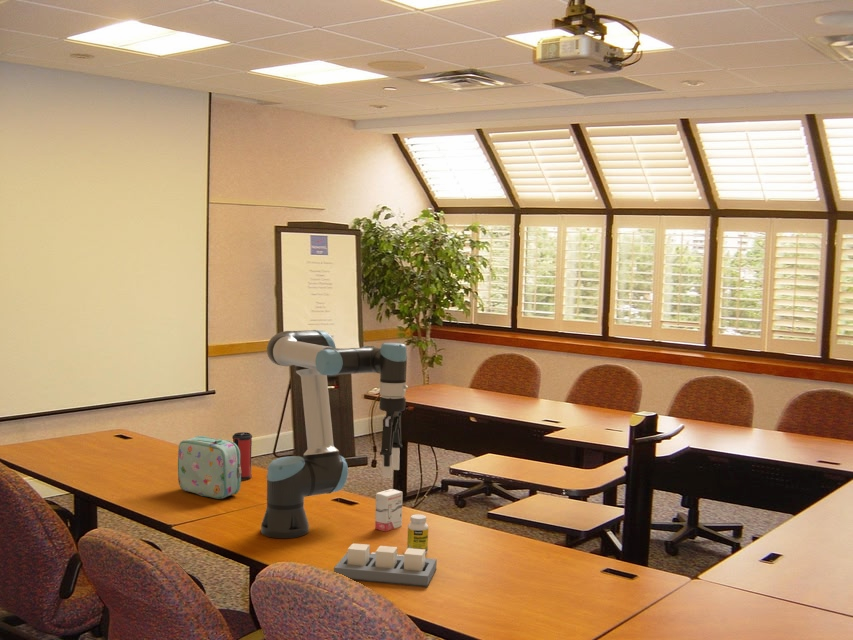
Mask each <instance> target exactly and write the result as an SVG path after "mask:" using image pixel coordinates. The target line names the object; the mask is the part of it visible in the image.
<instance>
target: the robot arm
mask: <svg viewBox="0 0 853 640" xmlns="http://www.w3.org/2000/svg"><path fill="white" fill-rule="evenodd" d="M266 354H267V357H268V359H269V361H271V362H272V363H274V364H275V365H277V366H280V367H281V366H282V367H295V373H296V374H297V375H299V376H300V381H301V392H302V402H303V413H304V422H305V423H304V424H305V426H304V427H305V435H306V444H307V445H306V446H307V449H306V450H305V452H304V453H303V456H300V455H292V456H289V455H288V456H282V457H279V458H275V459H273V460H272V461H271V462H270V463H269V464H268V466H267V474H266V486H267V487H266V510H265V512H264V516H263V518H262V521H261V523H260V524H261V526H260V534H261V535H263V536H264V537H268V538H273V539H294V538H300V537H303V536H305V535H307V534H308V533H309V530H310V529H309V528H310V525H309V521H308V517H307V514H306V511H305V503H304V501H305V497H312V496H318V495H319V496H320V495H326V494H332V493H336V492H339V491H342V490H343V488H344V487H345V485H346V483H347V480H348V476H349V468H348V462H347V461H346V459H345V457H344V456H342V455H340V450H339V449H338V448H337V447H335V445H334V437H333V436H334V435H333V425H332V416H331V406H330V405H331V404H330V394H329V383H328V376H331V377H332V376H339V375H350V374H351V375H352V374H354V375H355V374H356V375H357V374H369V373H370V374H371V373H373V374H375V373H376V374H379V375H380V376H379V378H380V380H379V395H380V397H379V410H381V411H382V412H384V411H385V413H386V414H385V416H384V418H383V419H382V435H381V445H380V446H381V447H380V451H379V455H380V456H382V469H381V471H382V472H381V473H382V475H381V477H382V478H389V479H390V478H391V479H392V478H393V470H394V471H399V470H400V456H401V455H400V454H401V453H400V448H403V445H404V444H403V443H402V412H403V411H405V410H406V401H407V400H406V397H405V396H406V393H407V391H406V390H407V389H408V385H406V383H407V382H406V381H407V362H408V355H407V354H408V353H407V345H406V344H404V343H401V342H384V343H382V344H381V346H380V347H376V346H373V345H368V346H367V345H366V346H365V345H364V346H362V347H350V348H337V347H336V344H335V341H334V338H333V336H332V335H330V334H329V332H327V331H326V330H318V329H317V330H316V329H311V330H308V329H307V330H284V331H281V332H278V333H276V334H275V335H273V336H272V337H271V338H270V339H269V340H268V343H267V345H266Z"/></svg>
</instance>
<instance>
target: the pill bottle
mask: <svg viewBox="0 0 853 640" xmlns="http://www.w3.org/2000/svg"><path fill="white" fill-rule="evenodd" d="M406 543H407V544H406V545H407V546H406V550H407V549H408V548H413V549H425V555H426V554H428V550H429V525H428V523H427V516H426V515H424V514H412V515H410V523H409V524H408V525H407V542H406Z"/></svg>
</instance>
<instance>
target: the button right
mask: <svg viewBox="0 0 853 640" xmlns="http://www.w3.org/2000/svg"><path fill="white" fill-rule="evenodd" d="M403 555H404V569H405V570H416V571H422V570H423V568H424V566H425V558H426V554H425V549H413V548H408V549H407V548H406V550H405V552H404V554H403Z"/></svg>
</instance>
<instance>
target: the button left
mask: <svg viewBox="0 0 853 640" xmlns="http://www.w3.org/2000/svg"><path fill="white" fill-rule="evenodd" d="M370 546H371V545H370V544H367V543H365V544H364V543H363V544H362V543H352V544H350V545H349V547H348V548H347V552H348V561H347V564H349V565H360V566H366V564H367V563H368V562H369V553H370Z"/></svg>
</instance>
